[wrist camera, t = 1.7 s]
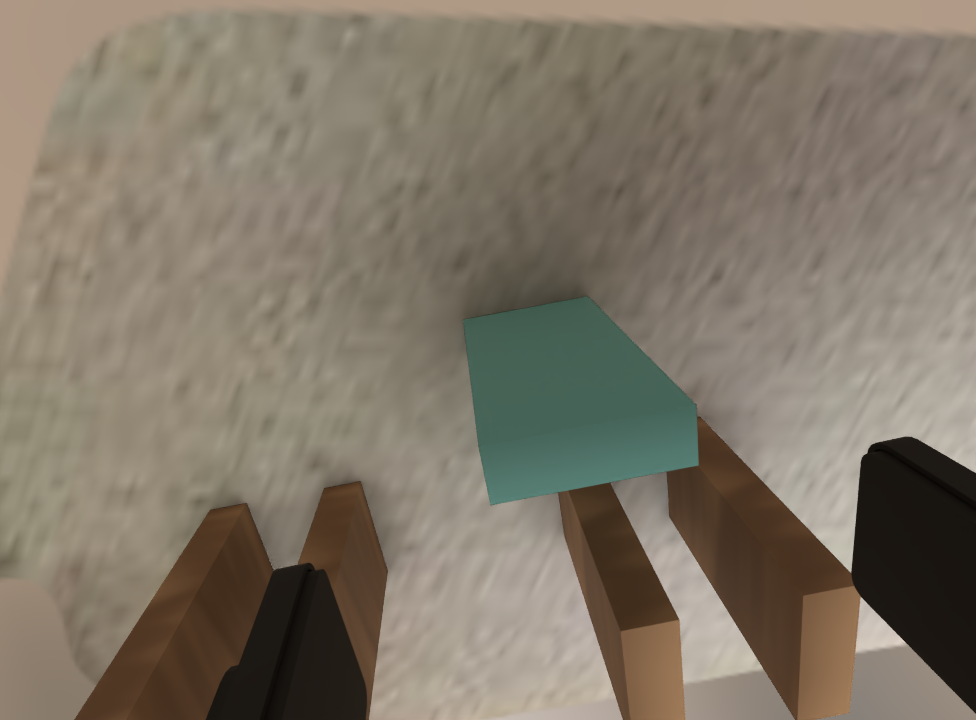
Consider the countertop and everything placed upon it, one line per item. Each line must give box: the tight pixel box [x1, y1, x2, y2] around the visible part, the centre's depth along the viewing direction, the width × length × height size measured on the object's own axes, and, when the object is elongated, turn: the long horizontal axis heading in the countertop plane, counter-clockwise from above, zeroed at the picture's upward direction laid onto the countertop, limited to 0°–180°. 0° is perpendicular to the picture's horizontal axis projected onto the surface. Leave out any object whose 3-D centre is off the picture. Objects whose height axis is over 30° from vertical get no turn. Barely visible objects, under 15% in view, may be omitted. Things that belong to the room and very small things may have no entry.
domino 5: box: [667, 417, 861, 720], centre depth 20 cm, size 2×5×10 cm, turn 9°
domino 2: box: [298, 481, 388, 720], centre depth 20 cm, size 2×5×10 cm, turn 9°
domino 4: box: [558, 482, 685, 720], centre depth 20 cm, size 2×5×10 cm, turn 9°
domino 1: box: [75, 503, 273, 720], centre depth 20 cm, size 2×5×10 cm, turn 10°
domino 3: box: [463, 296, 699, 505], centre depth 17 cm, size 2×5×10 cm, turn 99°
